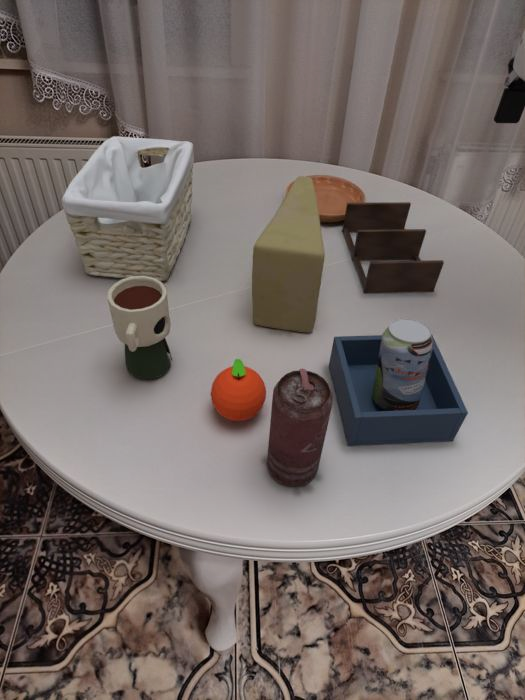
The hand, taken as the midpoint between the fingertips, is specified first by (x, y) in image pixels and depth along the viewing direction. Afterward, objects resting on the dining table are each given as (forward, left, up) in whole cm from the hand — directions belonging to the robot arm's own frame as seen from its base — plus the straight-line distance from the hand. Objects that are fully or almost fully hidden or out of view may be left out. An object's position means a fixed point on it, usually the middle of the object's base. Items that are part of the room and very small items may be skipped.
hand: (522, 138), depth 61 cm
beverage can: (+15, +17, -28) cm, 36 cm away
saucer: (+15, -34, -28) cm, 47 cm away
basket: (+50, -21, -28) cm, 61 cm away
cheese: (+25, -8, -28) cm, 39 cm away
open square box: (+15, +17, -28) cm, 36 cm away
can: (+29, +26, -28) cm, 48 cm away
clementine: (+35, +17, -28) cm, 48 cm away
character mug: (+47, +9, -28) cm, 56 cm away
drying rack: (+7, -15, -28) cm, 33 cm away
